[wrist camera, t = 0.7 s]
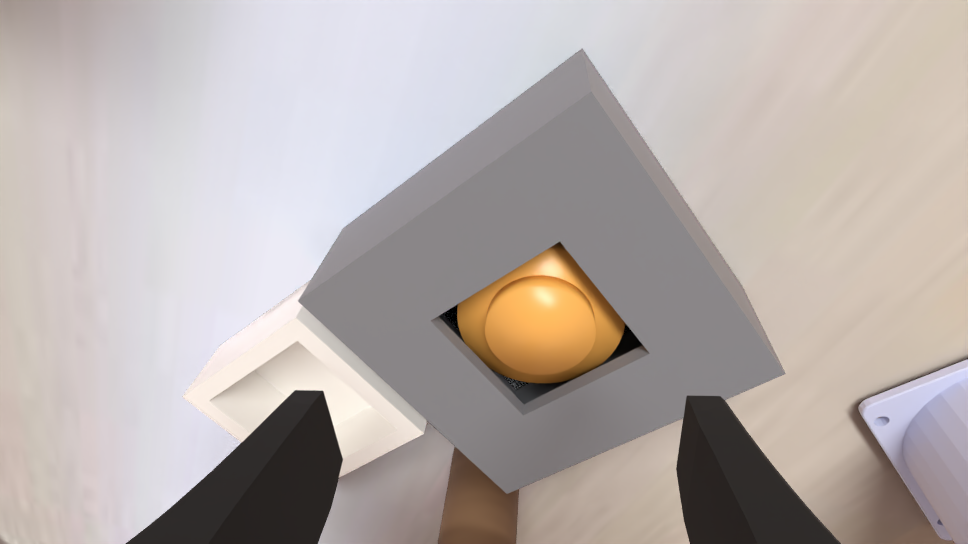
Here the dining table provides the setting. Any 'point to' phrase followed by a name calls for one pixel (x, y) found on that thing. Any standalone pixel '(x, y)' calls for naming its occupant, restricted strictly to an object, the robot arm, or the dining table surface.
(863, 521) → the dining table surface
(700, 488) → the robot arm
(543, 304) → the button
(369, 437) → the box
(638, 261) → the box
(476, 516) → the brown wooden cylinder
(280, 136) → the dining table surface
